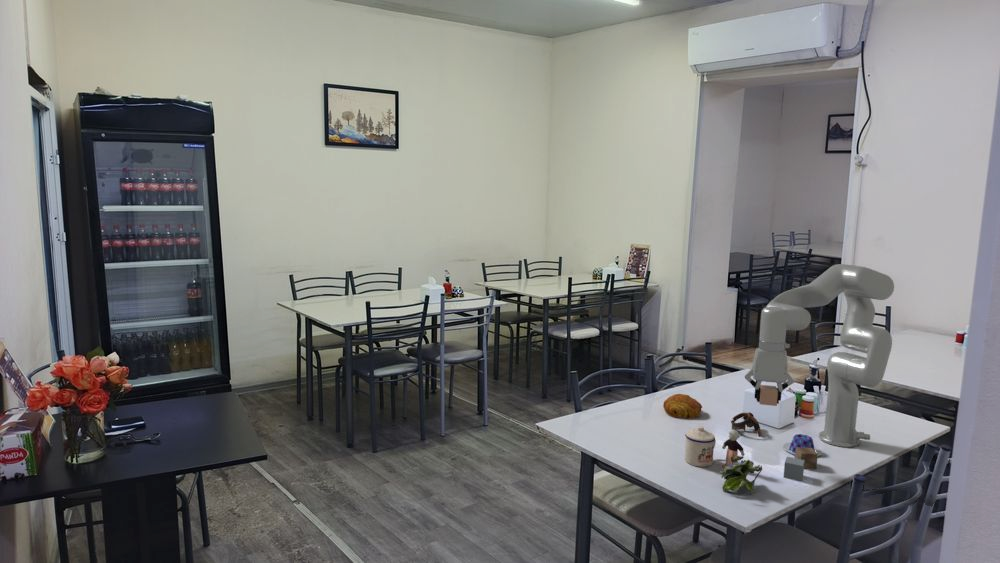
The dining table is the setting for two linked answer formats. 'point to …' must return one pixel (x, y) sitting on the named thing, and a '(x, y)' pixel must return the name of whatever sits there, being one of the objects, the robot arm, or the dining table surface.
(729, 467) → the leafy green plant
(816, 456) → the walnut cube
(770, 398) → the terracotta cube
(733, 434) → the grandmother figurine
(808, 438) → the purple patterned hat
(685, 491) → the dining table surface
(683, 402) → the croissant
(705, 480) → the dining table surface
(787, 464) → the slate grey cube
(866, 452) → the dining table surface
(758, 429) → the brown curved piece
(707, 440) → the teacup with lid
